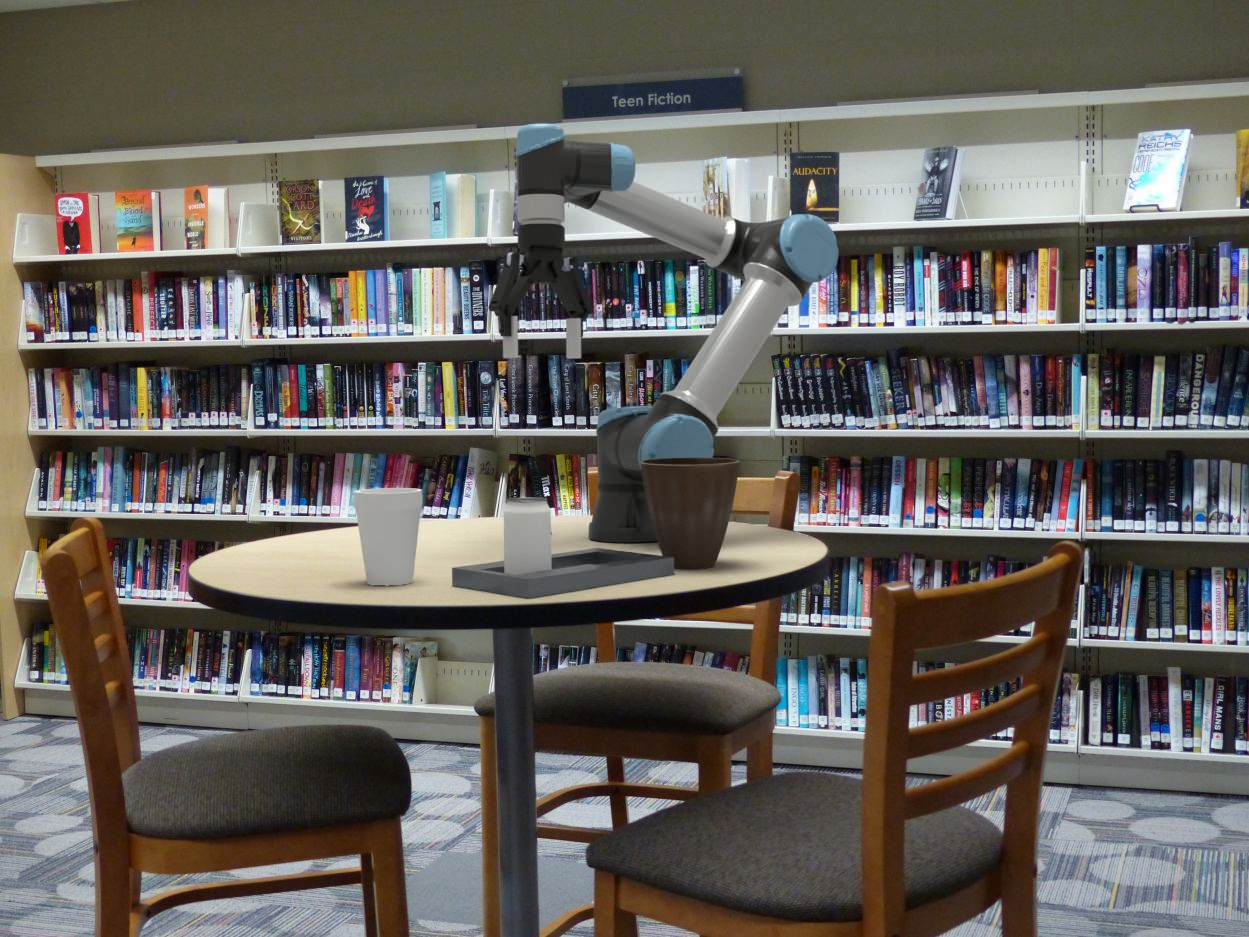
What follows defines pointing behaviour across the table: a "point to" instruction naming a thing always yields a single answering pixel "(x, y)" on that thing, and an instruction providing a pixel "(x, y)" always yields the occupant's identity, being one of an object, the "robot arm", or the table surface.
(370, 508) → the foam cup
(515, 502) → the can
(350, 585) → the table surface
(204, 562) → the table surface
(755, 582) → the table surface
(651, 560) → the keyhole plate
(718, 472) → the plant pot
